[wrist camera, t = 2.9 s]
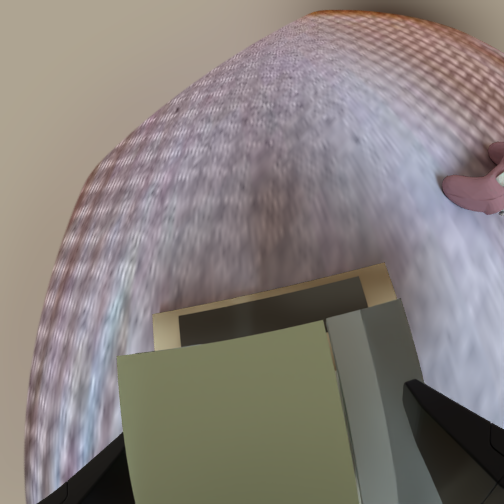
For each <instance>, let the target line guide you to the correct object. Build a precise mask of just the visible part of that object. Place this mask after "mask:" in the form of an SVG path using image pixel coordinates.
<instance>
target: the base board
mask: <svg viewBox="0 0 504 504" xmlns="http://www.w3.org/2000/svg"><path fill="white" fill-rule="evenodd" d="M396 299H397V297H396V294H395V291H394V288H393V285H392V282H391V279H390V276H389V273H388V271H387V268H386V265H385V262H384V263H380V264H376V265H372V266H368V267H365V268H361V269H357V270H353V271H349V272H345V273H341V274H337V275H333V276H329V277H324V278H320V279H316V280H312V281H308V282H304V283H299V284H295V285H291V286H286V287H282V288H278V289H273V290H269V291H264V292H260V293H255V294H251V295H246V296H241V297H237V298H232V299H227V300H222V301H218V302H213V303H208V304H203V305H198V306H193V307H188V308H183V309H178V310H173V311H167V312H162V313H157V314H153V334H154V349H155V351H159V350H166V349H173V348H180V347H186V346H192V345H199V344H208V343H214V342H220V341H225V340H231V339H236V338H241V337H246V336H252V335H257V334H262V333H266V332H271V331H276V330H281V329H285V328H290V327H294V326H299V325H303V324H307V323H312V322H316V321H320V320H323V322H324V326H325V330H326V335H327V339H328V343H329V348H330V352H331V357H332V361H333V366H334V370H335V371H336V370H337V369H336V365H335V360H334V356H333V351H332V347H331V343H330V338H329V334H328V330H327V326H326V318H330V317H334V316H338V315H342V314H346V313H349V312H353V311H357V310H361V309H364V308H368V307H372V306H375V305H379V304H382V303H386V302H389V301H393V300H396Z"/></svg>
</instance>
